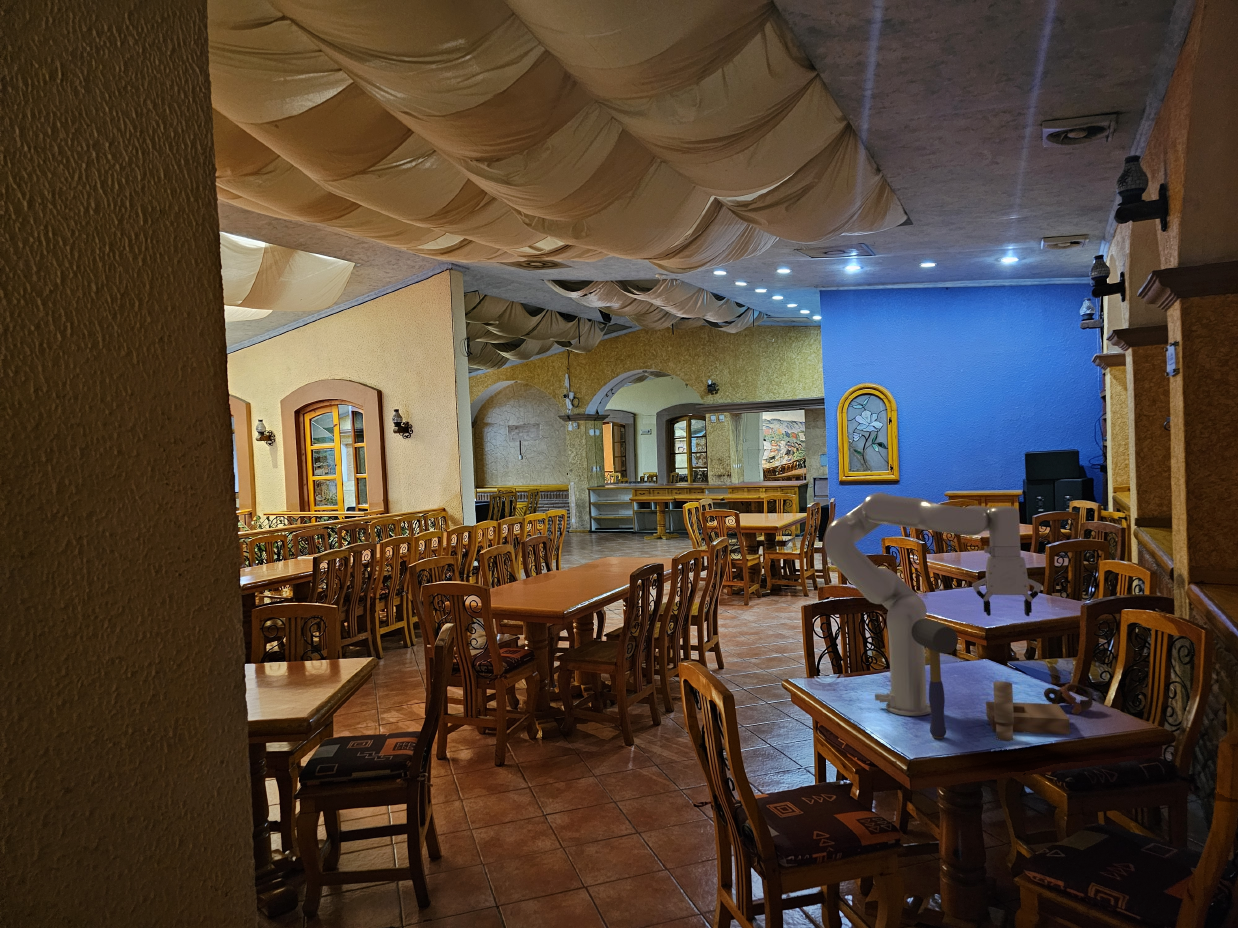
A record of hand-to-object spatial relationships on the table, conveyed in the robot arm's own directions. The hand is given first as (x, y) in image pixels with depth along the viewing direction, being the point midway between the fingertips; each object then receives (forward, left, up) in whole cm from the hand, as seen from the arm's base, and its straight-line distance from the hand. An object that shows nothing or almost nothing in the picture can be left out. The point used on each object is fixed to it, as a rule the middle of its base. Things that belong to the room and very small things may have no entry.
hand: (1007, 615), depth 226 cm
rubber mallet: (-20, -18, -28) cm, 39 cm away
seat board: (+3, -4, -28) cm, 29 cm away
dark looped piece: (+16, +11, -29) cm, 35 cm away
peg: (-4, -16, -28) cm, 33 cm away
